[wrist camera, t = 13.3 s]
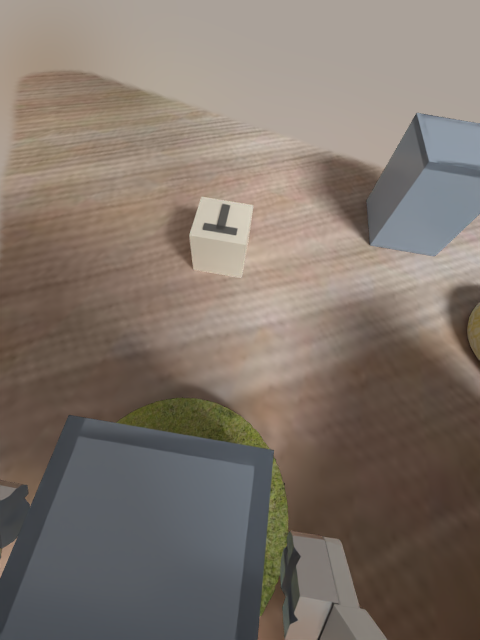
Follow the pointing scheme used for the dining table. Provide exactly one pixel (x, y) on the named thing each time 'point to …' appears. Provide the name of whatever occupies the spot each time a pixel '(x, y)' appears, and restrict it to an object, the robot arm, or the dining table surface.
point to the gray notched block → (427, 187)
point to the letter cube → (220, 236)
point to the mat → (226, 427)
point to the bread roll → (474, 330)
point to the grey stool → (140, 539)
